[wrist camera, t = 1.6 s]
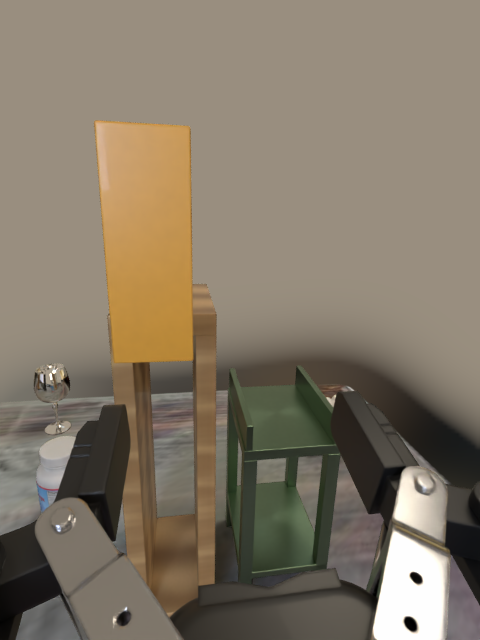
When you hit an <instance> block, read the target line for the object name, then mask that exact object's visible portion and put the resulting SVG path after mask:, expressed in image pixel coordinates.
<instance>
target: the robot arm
mask: <svg viewBox="0 0 480 640" xmlns="http://www.w3.org/2000/svg"><path fill="white" fill-rule="evenodd" d="M330 427H331V433H332V436H333V439H334V441H335V443H336V445H337V447H338V449H339V452H340V454H341V456H342V458H343V460H344V462H345V464H346V467H347V469H348V471H349V473H350V475H351V477H352V479H353V482H354V484H355V486H356V488H357V490H358V492H359V494H360V497H361V499H362V501H363V503H364V505H365V507H366V509H367V512H368V514H376V513H381V515H382V517H383V519H384V521H383V524H382V527H381V531H380V536H379V540H378V545H377V549H376V554H375V558H374V562H373V567H372V571H371V575H370V579H369V582H368V585H367V588H366V590H364V589H363V588H361V587H359V586H357V585H355V584H352V583H350V582H347V581H343V580H339V577H338V574H337V571H336V568H332V569H324V570H316V571H309V572H302V573H300V574H298V575H296V576H294V577H292V578H290V579H287V580H285V581H283V582H281V583H279V584H277V585H275V586H272V587H265V586H259V585H252V584H246V583H240V582H234V581H231V582H224V583H216V584H208V585H201V586H198V598H195V599H193V600H191V601H189V602H188V603H186V604H185V605H183V606H182V607H180V608H179V609H178V610H177V611H176V612H174V613H173V614H172V615H171V616H170V618H169V616H168V615H167V614H166V612H165V611H164V609H163V608H162V606H161V605H160V603H159V602H158V600H157V599H156V597H155V596H154V594H153V593H152V591H151V590H150V588H149V587H148V586H147V584H146V583H145V581H144V580H143V578H142V577H141V575H140V574H139V572H138V571H137V569H136V568H135V566H134V565H133V563H132V562H131V561H130V559H129V558H128V557H127V555H126V554H124V553H120V552H119V551H118V550H117V549H116V547H115V546H114V544H113V543H112V541H115V540H116V534H117V528H118V522H119V516H120V510H121V504H122V497H123V491H124V485H125V479H126V473H127V467H128V461H129V454H130V442H131V441H130V430H129V423H128V416H127V409H126V405H125V404H119V405H104V406H103V407H102V411H101V414H100V418H99V421H87V422H86V424H85V425H84V426H83V427H82V428H81V429H80V431H79V432H78V433H77V436H76V439H75V442H74V445H73V448H72V451H71V454H70V459H69V460H68V463H67V466H66V468H65V471H64V474H63V477H62V480H61V483H60V486H59V489H58V492H57V495H56V498H55V500H54V502H53V504H51V505H50V506H49V507H47V508H46V509H45V510H44V511H43V512H42V514H41V515H40V516H39V518H38V520H36V521H35V522H33V523H31V524H29V525H27V526H25V527H22V528H20V529H17V530H14V531H12V532H9V533H6V534H4V535H1V536H0V640H16V636H17V632H18V629H19V625H20V621H21V618H22V614H23V612H24V611H27V610H29V609H31V608H33V607H35V606H37V605H39V604H41V603H44V602H46V601H48V600H50V599H52V598H54V597H56V596H58V595H60V597H61V599H62V601H63V604H64V606H65V608H66V610H67V612H68V614H69V616H70V618H71V620H72V622H73V624H74V626H75V628H76V630H77V632H78V634H79V636H80V638H81V640H447V621H448V600H449V579H450V555H452V556H453V558H454V560H455V562H456V563H457V565H458V567H459V569H460V571H461V572H462V574H463V576H464V578H465V580H466V581H467V583H468V585H469V587H470V589H471V590H472V592H473V594H474V596H475V598H476V599H477V601H478V603H479V605H480V481H478V482H477V483H476V484H475V486H474V488H473V489H468V488H463V487H458V486H453V485H448V484H445V483H444V482H443V480H442V479H441V478H440V477H439V476H438V475H436V474H435V473H434V472H432V471H430V470H428V469H426V468H423V467H420V466H419V464H418V463H417V461H416V460H415V458H414V457H413V455H412V454H411V452H410V451H409V450H408V448H407V447H406V445H405V444H404V442H403V441H402V439H401V438H400V436H399V435H398V434H397V433H396V430H395V429H394V427H393V426H392V425H391V424H390V421H389V420H388V419H387V417H386V416H385V414H384V413H383V412H382V411H381V410H380V409H378V408H377V407H376V406H375V405H373V404H372V403H370V404H366V402H365V400H364V399H363V397H362V396H361V394H360V393H359V392H358V391H347V392H338V393H337V394H336V398H335V403H334V407H333V412H332V416H331V422H330Z"/></svg>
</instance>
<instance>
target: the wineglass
mask: <svg viewBox="0 0 480 640" xmlns="http://www.w3.org/2000/svg"><path fill="white" fill-rule="evenodd" d="M69 390H70V380H69V377H68V374H67V371H66V369H65V367H64V365H62V364H47V365H43V366H41V367H39V368H37V369H36V370H35V376H34V391H35V394H36V396H37V398H38V399H39V400H40V401H42V402H46V403H53V404H52V408H53V410H54V413H55V419H56V421H55V422H54V423H51V424H49V425H48V426H47V427H46V428H45V432H46V433H47V434H50V435H56V434H60V433H63V432H65V431H67V430H68V429H70V427H71V423H70V422H68V421H59V420H58V403H57V402H58V401H60V400H62V399H64V398H65V397H66V396H67V395H68V393H69Z"/></svg>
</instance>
